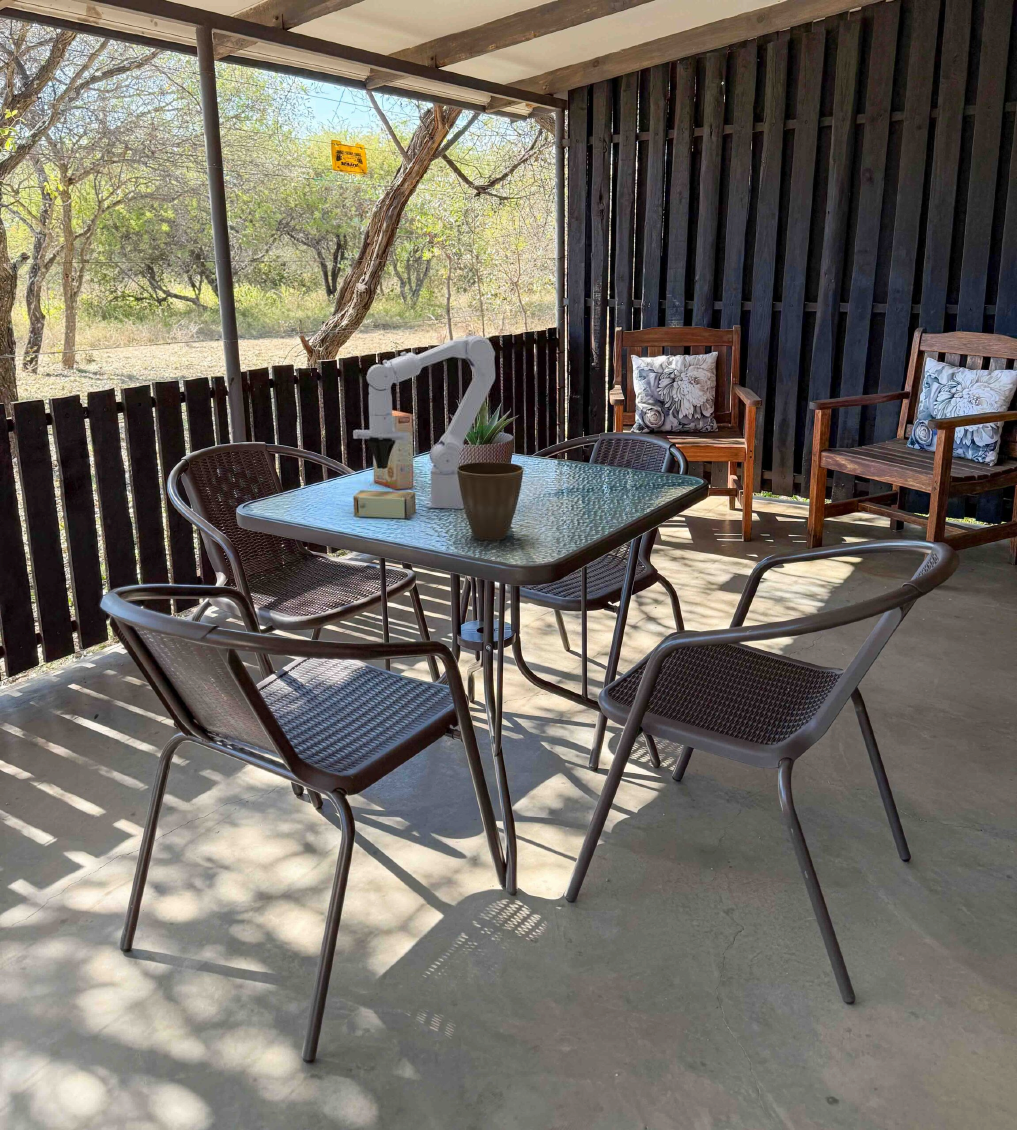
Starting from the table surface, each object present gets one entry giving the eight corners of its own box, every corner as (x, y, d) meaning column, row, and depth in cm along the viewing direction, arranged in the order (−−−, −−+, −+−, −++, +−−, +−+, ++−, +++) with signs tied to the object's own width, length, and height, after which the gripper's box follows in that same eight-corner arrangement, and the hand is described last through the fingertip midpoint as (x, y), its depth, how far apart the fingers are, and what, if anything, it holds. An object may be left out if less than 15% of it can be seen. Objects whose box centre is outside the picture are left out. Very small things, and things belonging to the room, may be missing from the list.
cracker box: (415, 488, 268) (413, 413, 262) (395, 491, 265) (394, 415, 259) (391, 480, 279) (389, 408, 273) (373, 482, 276) (370, 409, 270)
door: (411, 517, 234) (411, 498, 232) (409, 520, 232) (409, 499, 230) (360, 515, 235) (359, 495, 234) (357, 517, 233) (356, 497, 232)
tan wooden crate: (415, 511, 241) (415, 492, 239) (409, 518, 234) (409, 498, 233) (361, 509, 242) (360, 490, 241) (354, 516, 236) (353, 496, 234)
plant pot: (531, 543, 213) (532, 472, 208) (466, 547, 208) (466, 475, 204) (512, 527, 226) (512, 460, 222) (450, 531, 222) (450, 463, 218)
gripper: (413, 413, 239) (415, 467, 243) (360, 410, 243) (362, 463, 247) (403, 417, 232) (404, 472, 236) (348, 414, 236) (350, 468, 240)
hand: (382, 468), depth 241 cm, fingers closed
